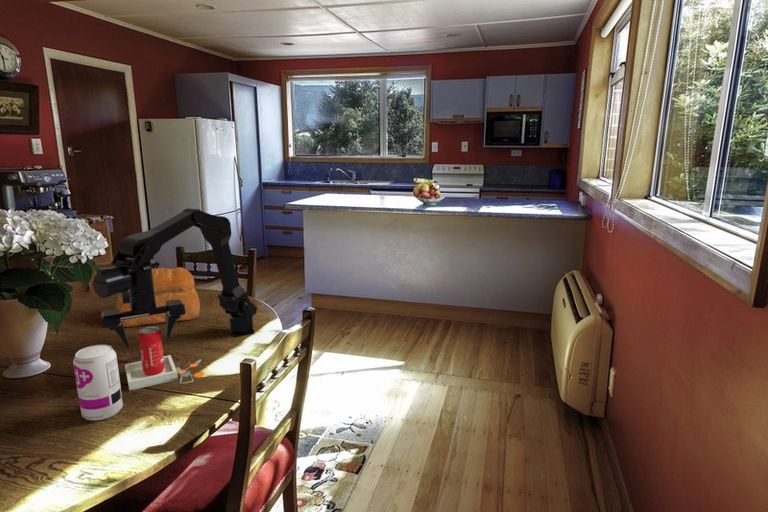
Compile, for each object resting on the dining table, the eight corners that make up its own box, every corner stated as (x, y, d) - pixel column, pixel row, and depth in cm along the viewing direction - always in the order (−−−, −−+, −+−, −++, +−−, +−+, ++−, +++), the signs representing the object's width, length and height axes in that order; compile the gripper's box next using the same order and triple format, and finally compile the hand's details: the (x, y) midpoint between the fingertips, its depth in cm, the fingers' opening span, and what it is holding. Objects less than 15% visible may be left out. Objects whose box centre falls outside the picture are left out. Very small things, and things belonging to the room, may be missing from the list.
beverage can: (156, 377, 123) (152, 334, 120) (138, 375, 124) (133, 332, 121) (168, 368, 128) (164, 326, 125) (151, 366, 128) (146, 325, 126)
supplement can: (94, 426, 103) (84, 363, 99) (74, 414, 107) (64, 353, 103) (130, 409, 109) (122, 349, 106) (110, 398, 114) (102, 340, 110)
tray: (171, 362, 132) (170, 355, 132) (177, 379, 123) (177, 371, 123) (125, 371, 127) (124, 364, 126) (129, 390, 117) (128, 382, 117)
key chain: (206, 380, 123) (206, 378, 123) (175, 386, 120) (175, 383, 120) (203, 360, 135) (203, 357, 134) (175, 364, 132) (175, 361, 132)
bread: (120, 314, 168) (114, 267, 163) (199, 305, 177) (195, 260, 173) (114, 330, 153) (107, 279, 149) (201, 320, 163) (196, 272, 159)
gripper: (176, 273, 130) (181, 326, 134) (97, 283, 121) (105, 340, 125) (183, 284, 121) (188, 340, 125) (98, 295, 112) (107, 356, 115)
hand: (147, 343), depth 123 cm, fingers open, 9 cm apart
